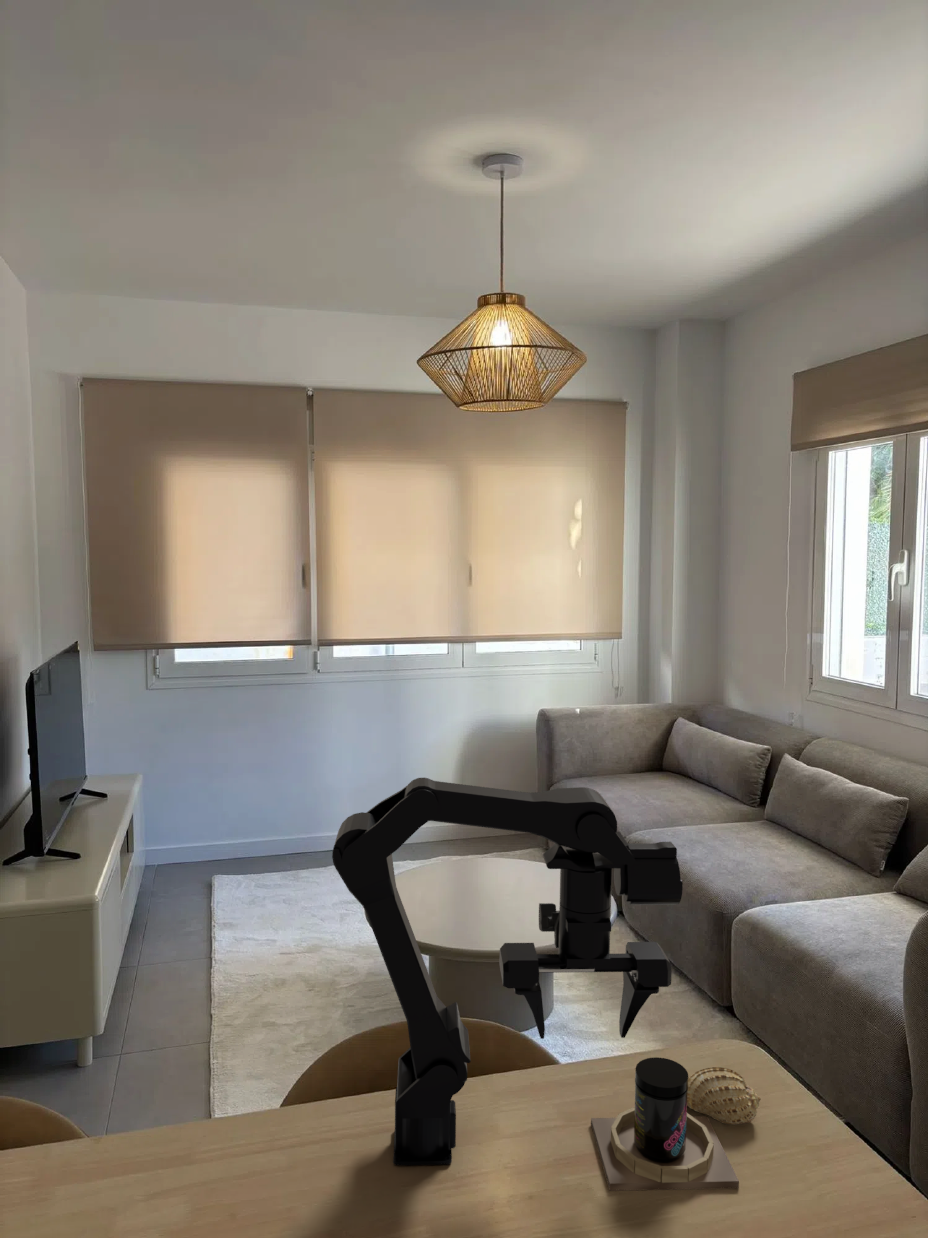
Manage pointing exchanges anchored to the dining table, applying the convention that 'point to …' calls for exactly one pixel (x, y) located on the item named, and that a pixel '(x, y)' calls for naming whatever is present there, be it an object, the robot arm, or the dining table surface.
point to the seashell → (722, 1095)
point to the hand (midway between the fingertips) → (582, 1036)
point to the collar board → (635, 1172)
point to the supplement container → (660, 1109)
